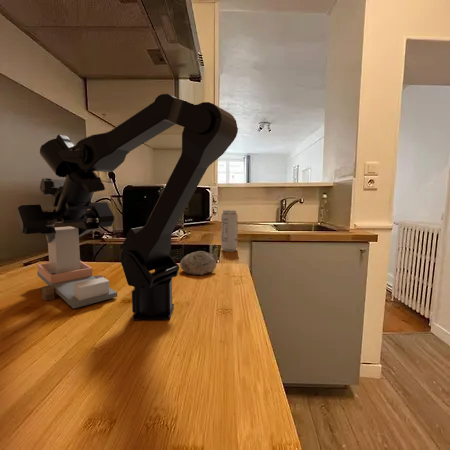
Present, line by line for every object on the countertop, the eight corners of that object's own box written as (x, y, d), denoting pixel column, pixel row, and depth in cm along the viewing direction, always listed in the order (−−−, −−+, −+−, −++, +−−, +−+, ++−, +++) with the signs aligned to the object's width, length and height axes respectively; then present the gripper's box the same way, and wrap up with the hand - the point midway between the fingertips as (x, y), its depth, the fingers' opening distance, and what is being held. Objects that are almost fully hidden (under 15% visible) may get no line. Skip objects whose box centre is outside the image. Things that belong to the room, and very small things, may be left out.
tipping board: (117, 296, 64) (117, 280, 63) (73, 308, 57) (73, 290, 56) (76, 268, 77) (76, 254, 77) (37, 275, 71) (37, 260, 70)
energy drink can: (239, 251, 112) (239, 211, 111) (223, 252, 111) (223, 211, 109) (234, 248, 118) (235, 210, 116) (219, 249, 117) (219, 210, 115)
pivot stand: (105, 286, 71) (105, 276, 71) (46, 301, 62) (45, 289, 62) (100, 284, 73) (100, 274, 73) (42, 298, 64) (41, 287, 63)
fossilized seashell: (171, 266, 84) (180, 242, 84) (190, 270, 93) (198, 249, 94) (203, 279, 79) (212, 254, 79) (220, 282, 88) (227, 259, 89)
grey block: (80, 270, 71) (78, 228, 70) (57, 274, 67) (54, 230, 66) (72, 266, 74) (69, 226, 73) (49, 270, 71) (46, 228, 69)
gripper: (106, 168, 72) (89, 212, 81) (14, 163, 59) (5, 216, 67) (125, 202, 68) (104, 244, 76) (29, 205, 54) (17, 256, 63)
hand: (61, 239), depth 71 cm, fingers closed on grey block, 5 cm apart
